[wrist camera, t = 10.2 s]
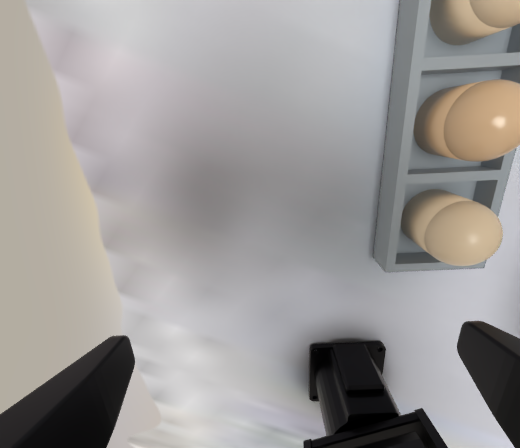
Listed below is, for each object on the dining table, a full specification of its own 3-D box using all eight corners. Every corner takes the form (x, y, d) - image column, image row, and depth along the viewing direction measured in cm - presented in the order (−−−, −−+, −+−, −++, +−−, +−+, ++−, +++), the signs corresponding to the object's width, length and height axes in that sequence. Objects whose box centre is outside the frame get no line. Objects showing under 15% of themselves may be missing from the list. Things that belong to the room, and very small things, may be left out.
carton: (462, 253, 21) (530, 297, 16) (373, 257, 21) (410, 302, 16) (538, -76, 14) (701, -193, 9) (406, -67, 14) (492, -178, 9)
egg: (470, 153, 18) (546, 165, 13) (408, 156, 18) (462, 168, 13) (485, 85, 16) (577, 70, 12) (418, 88, 16) (483, 74, 12)
